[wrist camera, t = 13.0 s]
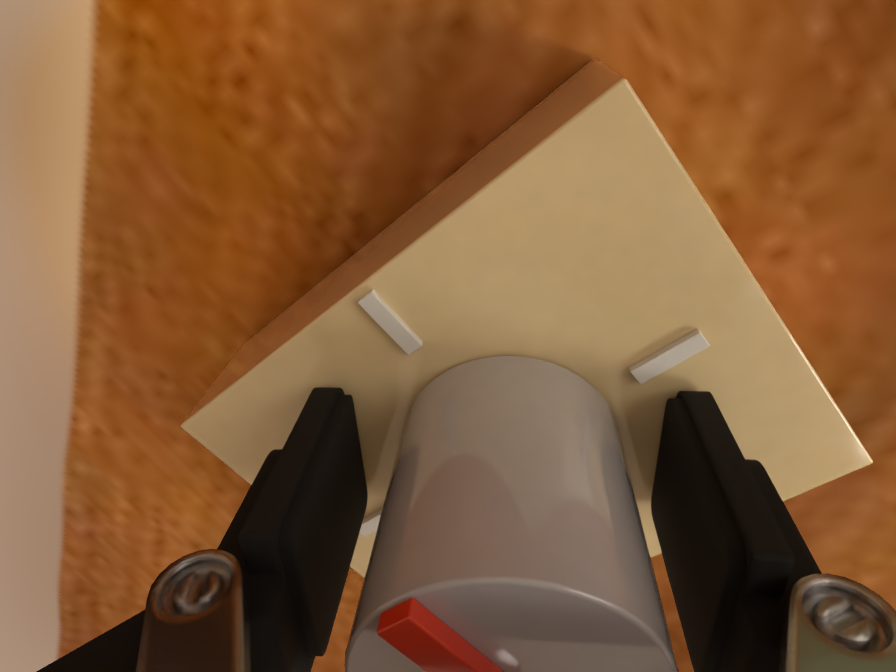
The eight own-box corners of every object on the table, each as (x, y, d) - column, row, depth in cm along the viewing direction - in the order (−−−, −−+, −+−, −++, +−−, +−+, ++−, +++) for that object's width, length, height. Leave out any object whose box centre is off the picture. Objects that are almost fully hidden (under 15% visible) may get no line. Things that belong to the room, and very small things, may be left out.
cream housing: (596, 55, 12) (626, 77, 9) (800, 367, 15) (880, 469, 11) (241, 345, 16) (174, 431, 13) (456, 542, 19) (444, 652, 16)
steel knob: (662, 463, 12) (755, 750, 7) (493, 550, 14) (482, 826, 9) (530, 311, 11) (543, 548, 6) (359, 428, 12) (267, 683, 8)
